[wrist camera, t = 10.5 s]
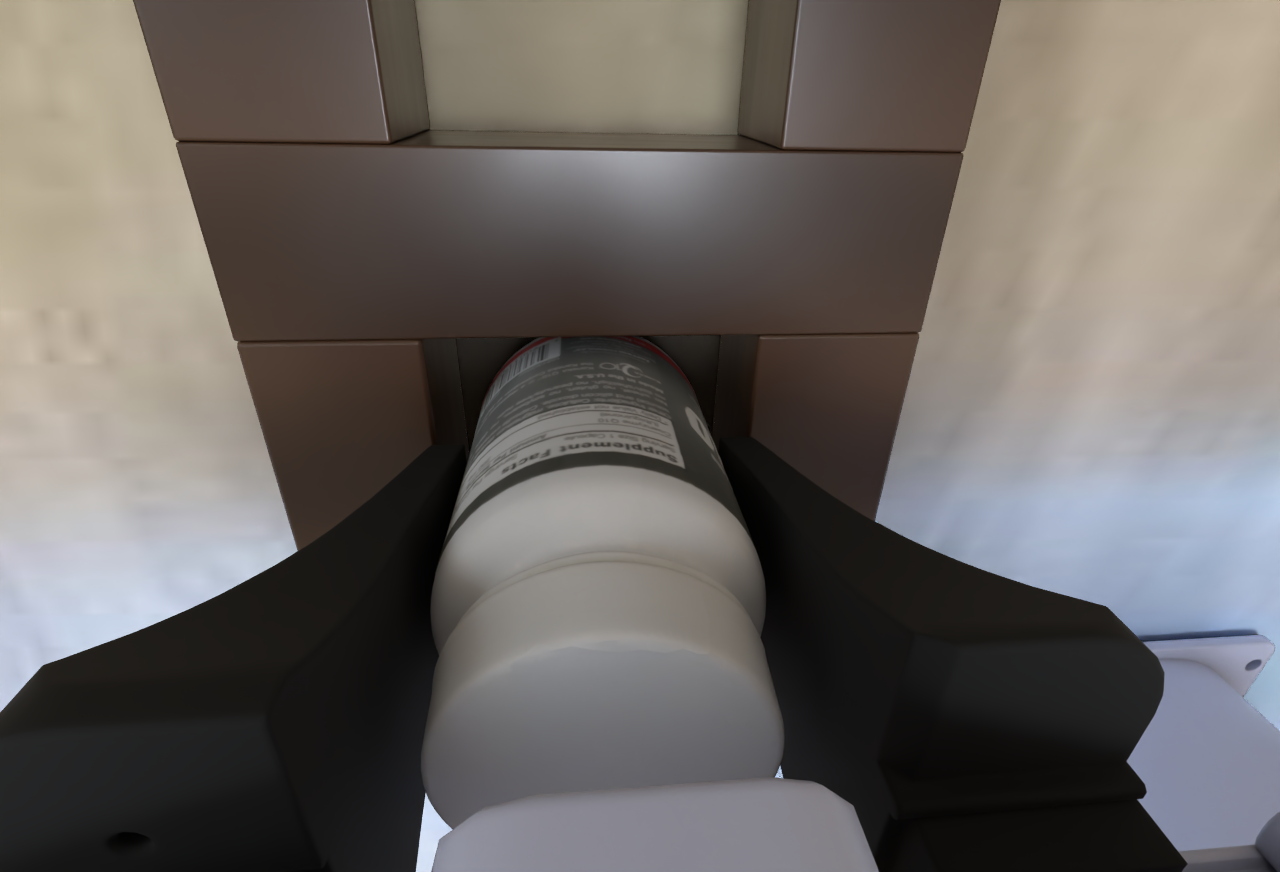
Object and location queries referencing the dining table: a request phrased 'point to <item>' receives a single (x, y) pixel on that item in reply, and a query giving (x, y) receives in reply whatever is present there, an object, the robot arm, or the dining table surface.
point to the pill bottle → (595, 591)
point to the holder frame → (566, 228)
